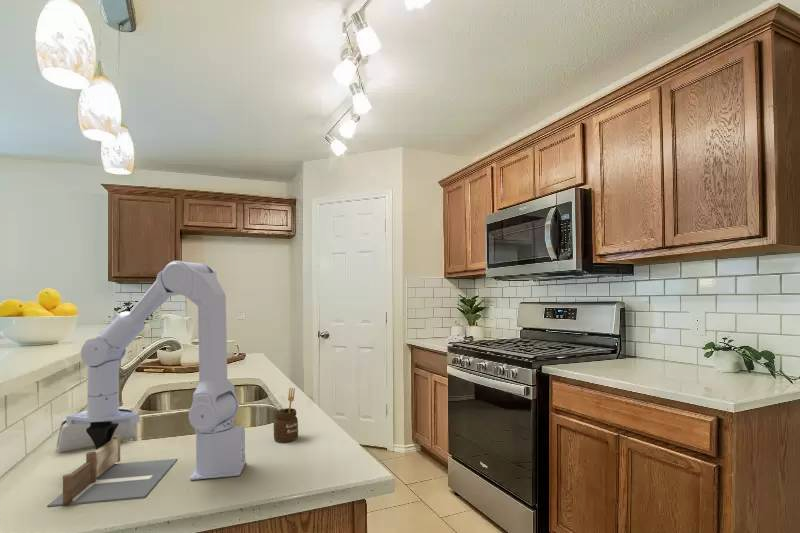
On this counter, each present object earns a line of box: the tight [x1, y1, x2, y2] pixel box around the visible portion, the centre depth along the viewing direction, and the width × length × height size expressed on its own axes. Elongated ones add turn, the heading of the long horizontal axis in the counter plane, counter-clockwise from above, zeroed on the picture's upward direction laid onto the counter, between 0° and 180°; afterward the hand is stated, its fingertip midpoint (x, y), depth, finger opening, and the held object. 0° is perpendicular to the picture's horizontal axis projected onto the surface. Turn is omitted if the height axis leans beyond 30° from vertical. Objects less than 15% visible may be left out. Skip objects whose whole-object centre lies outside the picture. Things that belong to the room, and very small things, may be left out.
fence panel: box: [93, 435, 121, 477], centre depth 98 cm, size 10×1×5 cm, turn 7°
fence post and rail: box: [62, 451, 96, 507], centre depth 87 cm, size 2×10×6 cm, turn 9°
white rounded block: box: [55, 406, 137, 454], centre depth 117 cm, size 17×5×10 cm, turn 129°
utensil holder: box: [273, 387, 299, 444], centre depth 116 cm, size 6×6×12 cm
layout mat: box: [47, 458, 178, 508], centre depth 93 cm, size 16×19×1 cm
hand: (102, 457), depth 100 cm, fingers closed
